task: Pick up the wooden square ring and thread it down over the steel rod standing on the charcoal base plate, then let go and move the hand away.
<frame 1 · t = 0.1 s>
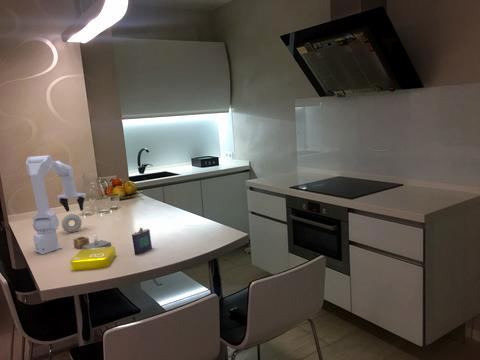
hand: (74, 210, 221), 11 cm above the table, tool pointing down, fingers open, 7 cm apart
donut: (73, 232, 218), on the table
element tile: (95, 263, 170), on the table
rod stand: (96, 247, 189), on the table
wooden square ring: (82, 246, 192), on the table
flask: (143, 251, 179), on the table
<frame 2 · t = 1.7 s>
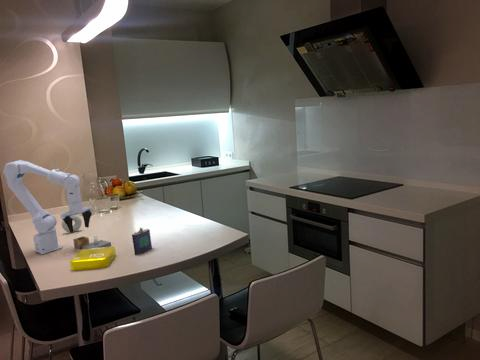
hand: (79, 229, 190), 8 cm above the table, tool pointing down, fingers open, 7 cm apart
nothing on the table moved.
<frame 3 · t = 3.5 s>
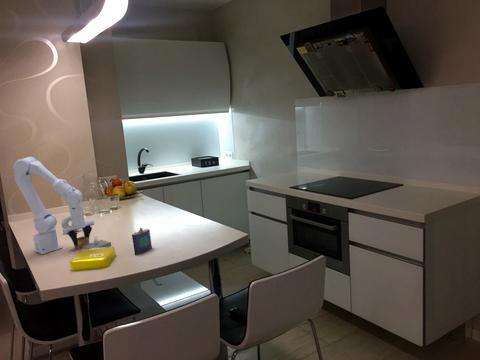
hand: (81, 243, 192), 1 cm above the table, tool pointing down, fingers closed on wooden square ring, 5 cm apart
wooden square ring: (82, 246, 192), on the table, touching gripper
everything else where it was.
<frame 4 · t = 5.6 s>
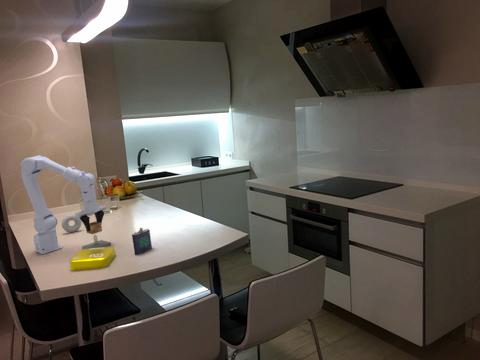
hand: (94, 229, 187), 9 cm above the table, tool pointing down, fingers closed on wooden square ring, 5 cm apart
wooden square ring: (94, 231, 188), point 8 cm above the table, touching gripper
everything else where it was.
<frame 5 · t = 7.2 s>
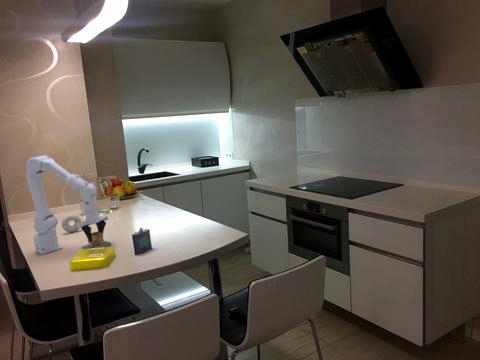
hand: (95, 239, 188), 4 cm above the table, tool pointing down, fingers closed on wooden square ring, 5 cm apart
wooden square ring: (96, 241, 188), point 3 cm above the table, touching gripper
everything else where it was.
when the fingers open (4 cm above the table, at t = 8.2 s): wooden square ring drops 1 cm, resting on rod stand.
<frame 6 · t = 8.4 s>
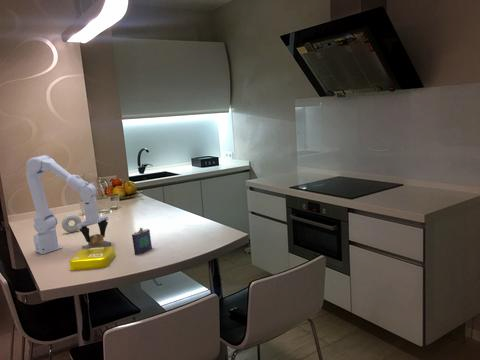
hand: (95, 239, 188), 4 cm above the table, tool pointing down, fingers open, 7 cm apart
wooden square ring: (96, 244, 189), point 1 cm above the table, touching rod stand
everything else where it was.
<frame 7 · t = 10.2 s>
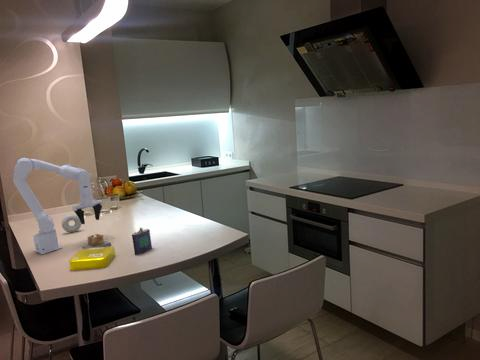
hand: (90, 221, 199), 9 cm above the table, tool pointing down, fingers open, 7 cm apart
nothing on the table moved.
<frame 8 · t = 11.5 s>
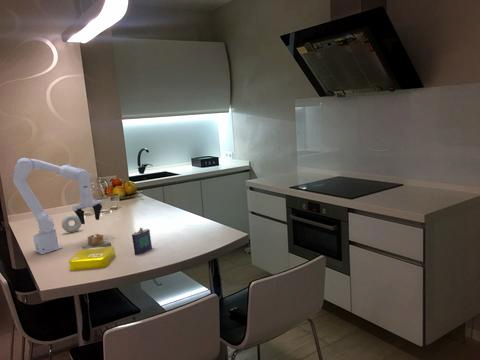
hand: (90, 221, 199), 9 cm above the table, tool pointing down, fingers open, 7 cm apart
nothing on the table moved.
at the end: wooden square ring 0.0 cm off-centre on the rod stand, point 1.5 cm above the rod stand's base; the gripper is holding nothing; wooden square ring tilted 0° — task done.
